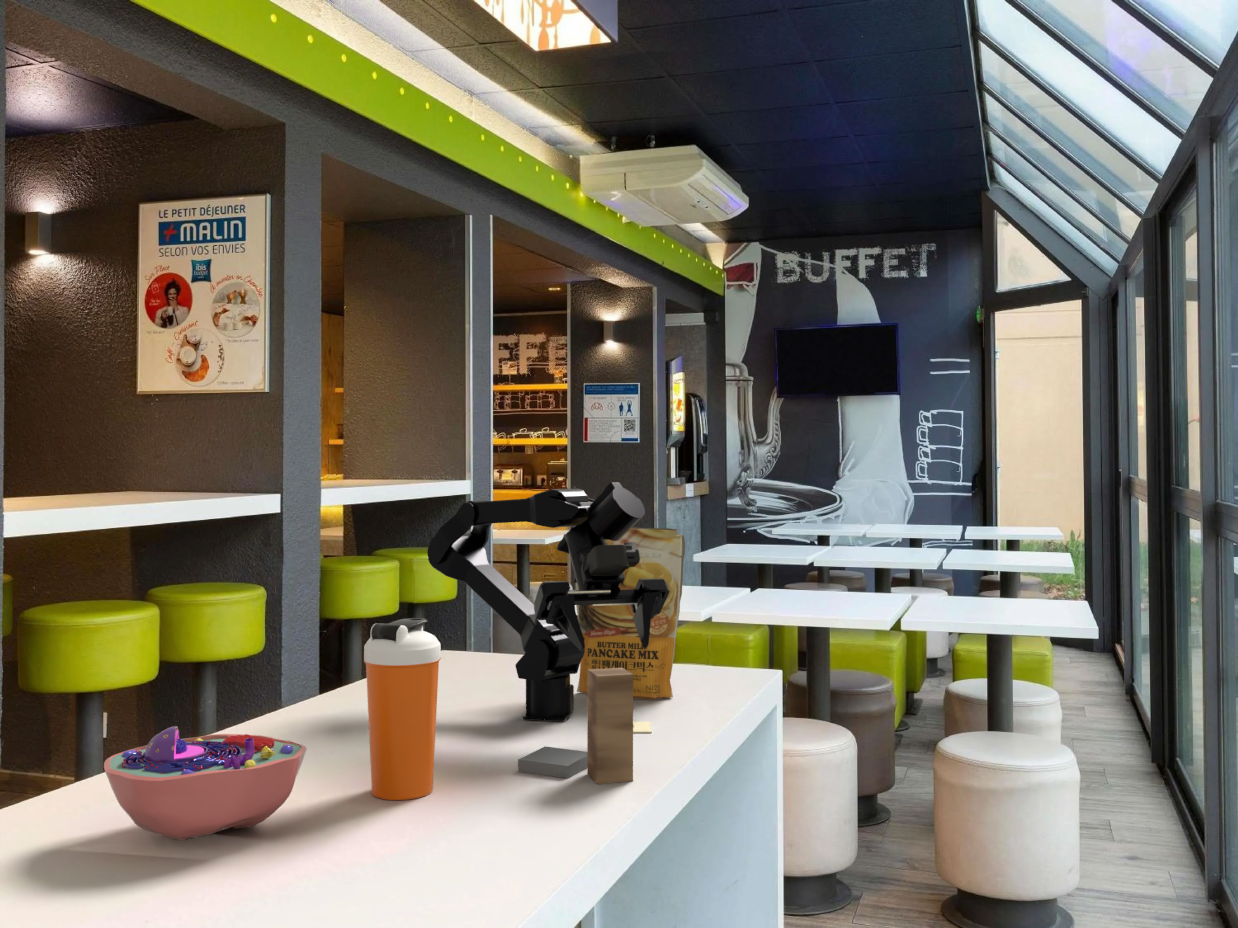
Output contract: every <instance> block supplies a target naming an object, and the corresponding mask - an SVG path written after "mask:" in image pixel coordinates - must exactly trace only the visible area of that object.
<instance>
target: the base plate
mask: <svg viewBox="0 0 1238 928" xmlns="http://www.w3.org/2000/svg"><path fill="white" fill-rule="evenodd" d="M517 768H518V769H517V772H520V773H528V774H535V775H541V776H550V777H555V778H557V777H558V778H564V779H569V778H571V777H573V776H574V775H576V774H578V773H580V772H581V771H583V770H585V769H587V750H578V749H576V750H575V749H571V748H570V749H568V748H562V747H561V748H560V747H552V746H543V747H540V748H539V749H536V750H535V751H533V752H530V753H528V754H526V755H525V756H522V757H520V758H518V759H517Z"/></svg>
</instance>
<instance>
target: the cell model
mask: <svg viewBox="0 0 1238 928" xmlns="http://www.w3.org/2000/svg"><path fill="white" fill-rule="evenodd" d="M306 752H307V747H306V745H303V744H300V743H297V742H294V741H291V740H290V741H289V740H285V739H284V740H283V739H279V738H276V737H272V736H266V735H258V734H257V735H256V734H247V733H245V734H240V733H239V734H238V733H218V734H217V733H216V734H207V735H202V736H201V735H200V736H195V737H189V738H188V737H187V738H180V731H179V728H178V726H177V725H176V726H171V727H167V728H166V729H164V730H162V731H161V732H159V733H157V734H156V735H154V736H153V737H152V738H151V739H150V740H149V742H148V744H147V745H143V746H137V747H134V748H131V749H128V750H124V751H122V752H119V753H115V754H113V755H111V756H110V757H108V758H106V759H105V761H104V763H103V768H104V771H105V775H106V777H107V779H108V782H109V784H110V787H111V791H112V792H113V794H114V797H115V799H116V800H117V803H118V805H120V808H121V809H122V810H123V811H124V812H125V813H126V815H128V816H129V818H130V819H131V820H132V821H133V823H134V824H135V825H136V826H137V827H138V828H140V829H142V830H144V831H147V832H151V833H153V834H157V835H159V836H161V837H164V838H168V839H170V840H175V841H188V840H191V839H193V838H196V837H203V836H204V837H205V836H208V835H212V834H215V833H218V832H221V831H224V830H230V829H246V828H250V827H254V826H256V825H259V824H261V823H262V822H264V821H266V820H267V819H268V818H269V817H271V816H272V815H273V814H274V813H275V812H276V811H277V810H279V808H280V807H282V806H283V805H284V804H285V802H286V801H287V799H288V798H289V797H290V796H291V793H292V792H293V788H294V785H295V782H296V778H297V776H298V774H299V771H300V769H301V766H302V764H303V760H304V758H305V755H306Z"/></svg>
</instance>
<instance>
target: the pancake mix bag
mask: <svg viewBox="0 0 1238 928" xmlns="http://www.w3.org/2000/svg"><path fill="white" fill-rule="evenodd" d="M606 542H607V545H624V543H626V542H636V545H637V547H638V550H639V555H640V562H639V563H638V564H637V565H636V566H635V567H629V568H628V569H626V570H625V571H624V572H623V574H624V577H625V579H624V581H623V583H619V587H620V590H631V589H635V587H636V585H637V582H638V580H639V579H651V578H661V579H664V580H665V581H666V582H667V585H668V588H669V591H670V592H669V594H668V597H667V599H666V601H665V603H664V606H663V608H662V610H661V612H660V613H659V614H657V615H656V616H654V618H653V619H651V623H650V635H649V644H648V647H647V648H644V647H643V645H642V643H641V641H640V638H639V635H638V632H637V629H636V626H635V623H634V620H633V617H634V615H635V613H634V612H633V611H632V607H631V605H605V606H593V605H575V608H576V615H577V618H578V621H579V625H580V628H581V631H582V634H583V637H584V639H585V641H584V643H585V653H584V656H583V658H582V660H581V662H580V665H579V679H578V683H577V684H578V685H577V689H576V692H577V693H581V694H585V695H587V696H588V670H590V669H607V668H624V669H625V670H627V671H629V672H630V673H632V674H633V700H635V699H636V700H650V701H651V700H655V701H656V700H661V699H662V700H663V699H671V698H672V699H673V698H674V696H673V690H672V689H673V688H672V684H671V677H672V671H673V666H674V665H673V664H674V659H675V652H676V651H675V650H676V642H677V641H676V638H677V632H678V626H679V616H680V610H681V609H680V608H681V606H680V605H681V600H682V594H683V579H684V578H683V577H684V576H683V575H684V560H685V559H684V558H685V554H686V543H685V535H684V534H678V529H677V528H669V527H668V528H667V527H664V528H663V527H661V528H659V527H656V528H655V527H654V528H653V527H634V526H633V527H632V528H631V529H630V530H629V531H628V532H627V533H626V534H625V535H624V536H623V537H621V538H620V539H619V540H617V541H612V540H606ZM574 590H579V589H578V585H577V583H574Z"/></svg>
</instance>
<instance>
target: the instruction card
mask: <svg viewBox="0 0 1238 928" xmlns="http://www.w3.org/2000/svg"><path fill="white" fill-rule="evenodd" d="M633 734H652V722H651V721H633Z"/></svg>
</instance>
